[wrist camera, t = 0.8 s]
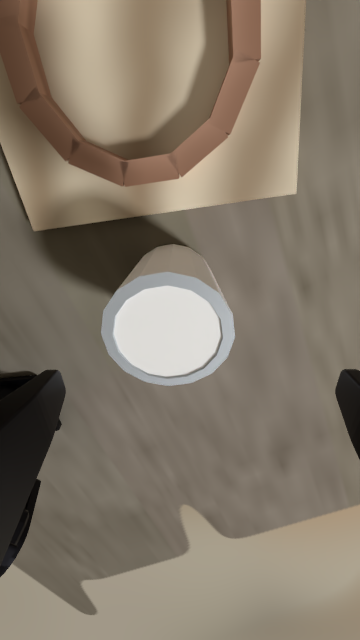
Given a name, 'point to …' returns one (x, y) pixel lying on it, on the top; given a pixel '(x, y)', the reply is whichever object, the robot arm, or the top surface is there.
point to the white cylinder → (169, 319)
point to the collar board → (148, 104)
